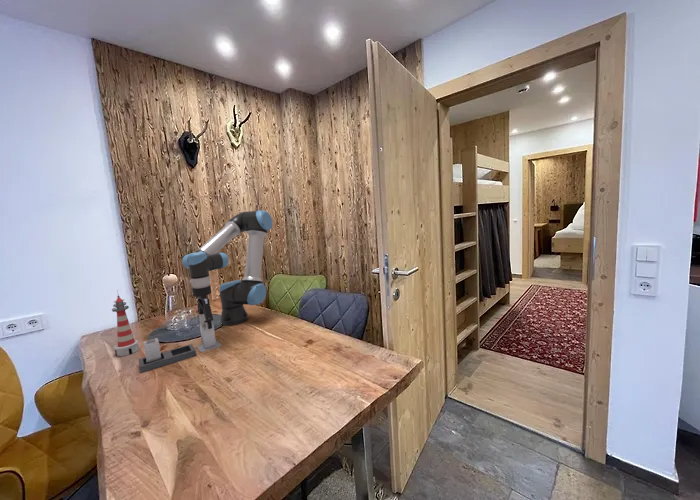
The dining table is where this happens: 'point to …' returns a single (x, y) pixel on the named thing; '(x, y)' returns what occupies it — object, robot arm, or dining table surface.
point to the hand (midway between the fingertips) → (207, 331)
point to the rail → (168, 358)
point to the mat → (208, 348)
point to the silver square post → (152, 350)
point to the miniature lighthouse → (123, 331)
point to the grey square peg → (207, 337)
